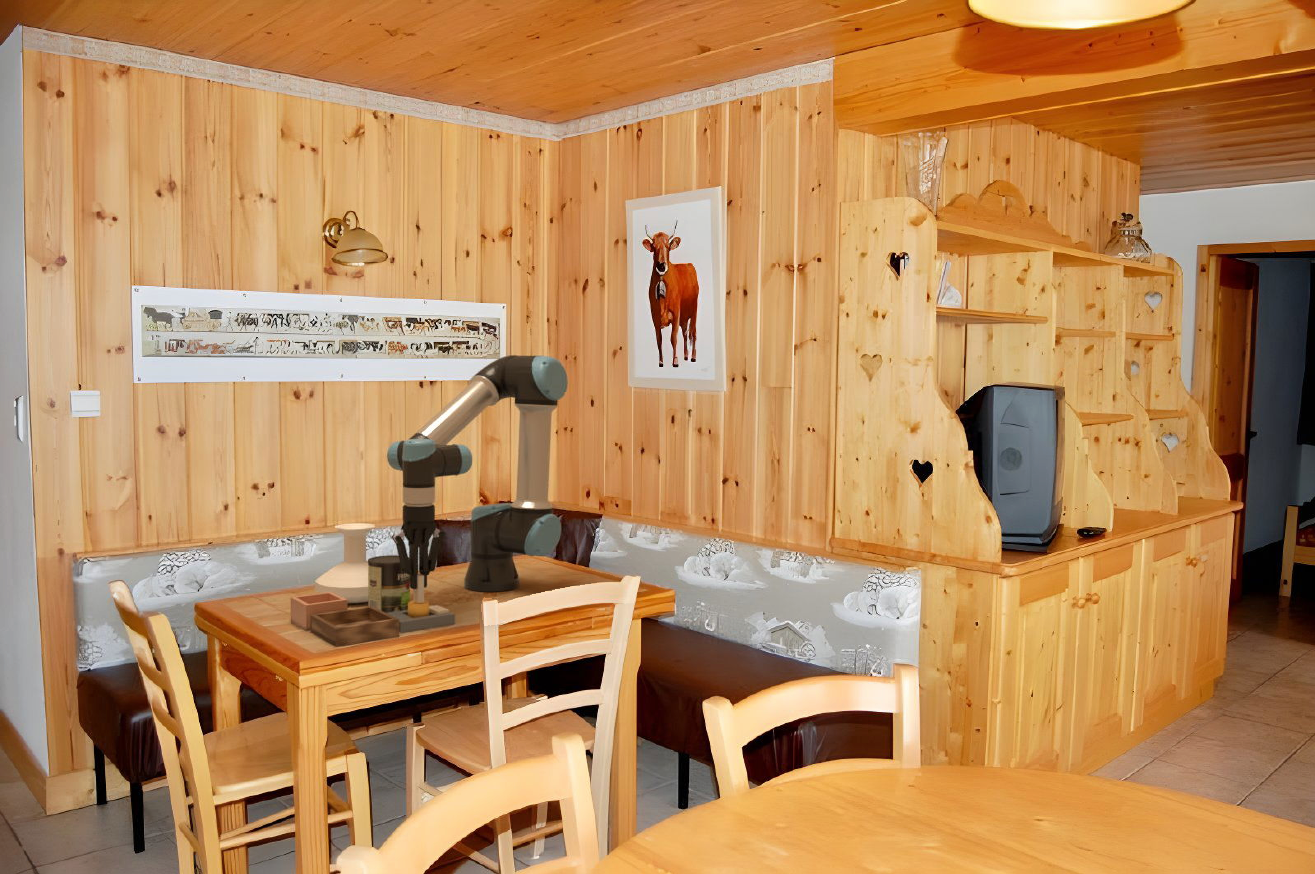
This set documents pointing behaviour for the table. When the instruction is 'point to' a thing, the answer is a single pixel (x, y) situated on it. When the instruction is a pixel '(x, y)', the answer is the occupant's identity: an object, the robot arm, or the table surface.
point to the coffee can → (388, 584)
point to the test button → (418, 609)
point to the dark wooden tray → (354, 626)
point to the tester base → (424, 619)
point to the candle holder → (349, 566)
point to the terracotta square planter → (314, 607)
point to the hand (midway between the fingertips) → (418, 601)
